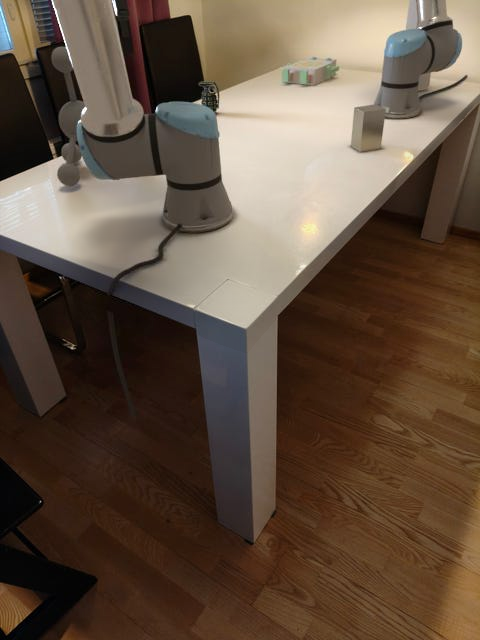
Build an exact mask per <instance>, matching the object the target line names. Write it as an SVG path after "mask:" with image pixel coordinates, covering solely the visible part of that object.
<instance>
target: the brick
mask: <svg viewBox="0 0 480 640" xmlns="http://www.w3.org/2000/svg"><path fill="white" fill-rule="evenodd" d="M373 104H374V103H373ZM373 104H368V105H367V104H366V105H360V106H354V108H353V118H352V126H351V127H352V129H351V140H350V148H352V149H354V150H356V151H357V152H359V153H364V152H369V151H375V150H381V149H382V142H383V135H384V134H383V133H384V128H385V127H384V126H385V120H386V118H385V112H386V109H385V108H383V107H381V106H378V105H376V104H374V105H373Z"/></svg>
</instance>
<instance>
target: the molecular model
mask: <svg viewBox="0 0 480 640" xmlns="http://www.w3.org/2000/svg"><path fill="white" fill-rule="evenodd" d="M50 59H51V63H52V65H53V67H54V68H55V69H56V70H57V71H59V72H60V73H63V75H64V80H65V84H66V88H67V92H68V95H69V100H70V101H68V102H66V103H65V104H63V106H62V107H61V109H60V110H59V113H58V123H59V125H58V126H59V128H60V129H61V131H62V133H63V134H64V135H65V136H66V137H67V138H68V139H69V140H68V141H69V142H68V143H65V144H64V145H63V146H62V147H61V152H60V153H61V157H62V159H63V161H65V163H63V164H61V165H60V166H59V167H58V169H57V175H56V176H57V179H58V180H59V182H60V184H62V185H64V186H67V187H73V186H76V185H78V183H79V182H80V180H81V172H80V170H79V168H78V167H77V166H76V165H74V164H77V163H78V162H80V161H81V159H82V158H83V157H82V155H81V149H80V146H79V144H78V145H77V143H76V142H78V139H77V124H78V122H79V121H80V120H81V114H82V111H83V110H84V108H85V104H84V101H82V100H77V96H76V91H75V86H74V83H73V79H72V76H71V75H72V74H71V72H72V71H74V69H73V66H72V63H71V59H70V56H69V53H68V50H67V47H66V46H58V47H56V48H54V49H53V50H52V52H51V58H50Z"/></svg>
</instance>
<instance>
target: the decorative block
mask: <svg viewBox="0 0 480 640" xmlns="http://www.w3.org/2000/svg"><path fill="white" fill-rule="evenodd" d="M338 71H340V66H338V65H337V59H335V58H331V57H328V58H327V57H326V58H323V57H322V58H321V57H316V56H312V57H310V58H307V59H302V60H299V61H296V62H294V63H293V62H287V65H286V66H284V67H283V68H282V69H281V83H288V84H289V83H290V84H298V85H308V86H315V85H318V84H321V83H323V82H325V81H328V80H329V79H331V78H333V76H335V75H336V74H337V73H336V72H338Z"/></svg>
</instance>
